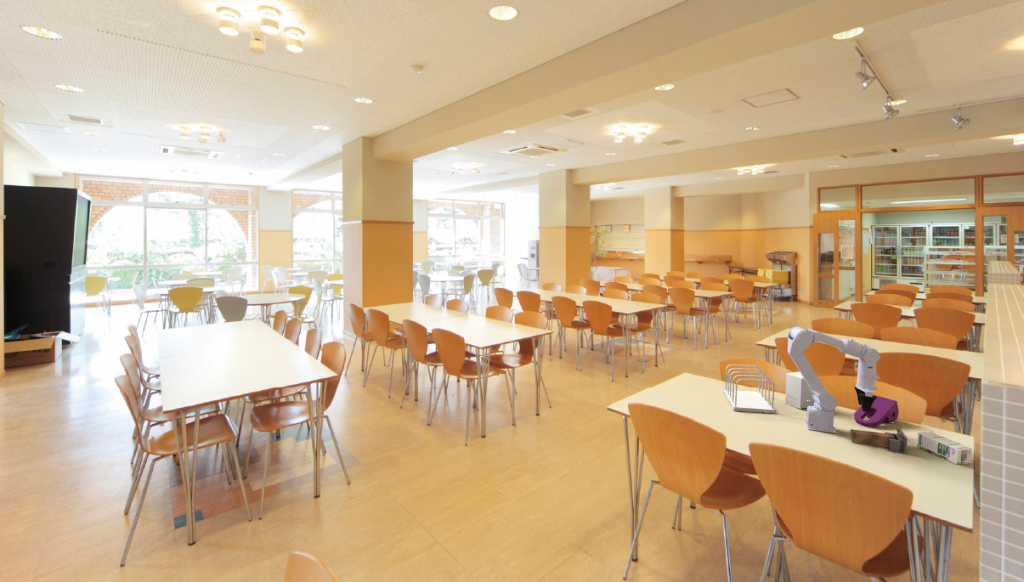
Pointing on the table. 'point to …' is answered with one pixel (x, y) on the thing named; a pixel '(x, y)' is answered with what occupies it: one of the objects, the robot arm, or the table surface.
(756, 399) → the file sorter
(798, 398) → the supplement box
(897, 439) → the bracket
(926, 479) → the table surface
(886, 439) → the rail
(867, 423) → the mounting bracket
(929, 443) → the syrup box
